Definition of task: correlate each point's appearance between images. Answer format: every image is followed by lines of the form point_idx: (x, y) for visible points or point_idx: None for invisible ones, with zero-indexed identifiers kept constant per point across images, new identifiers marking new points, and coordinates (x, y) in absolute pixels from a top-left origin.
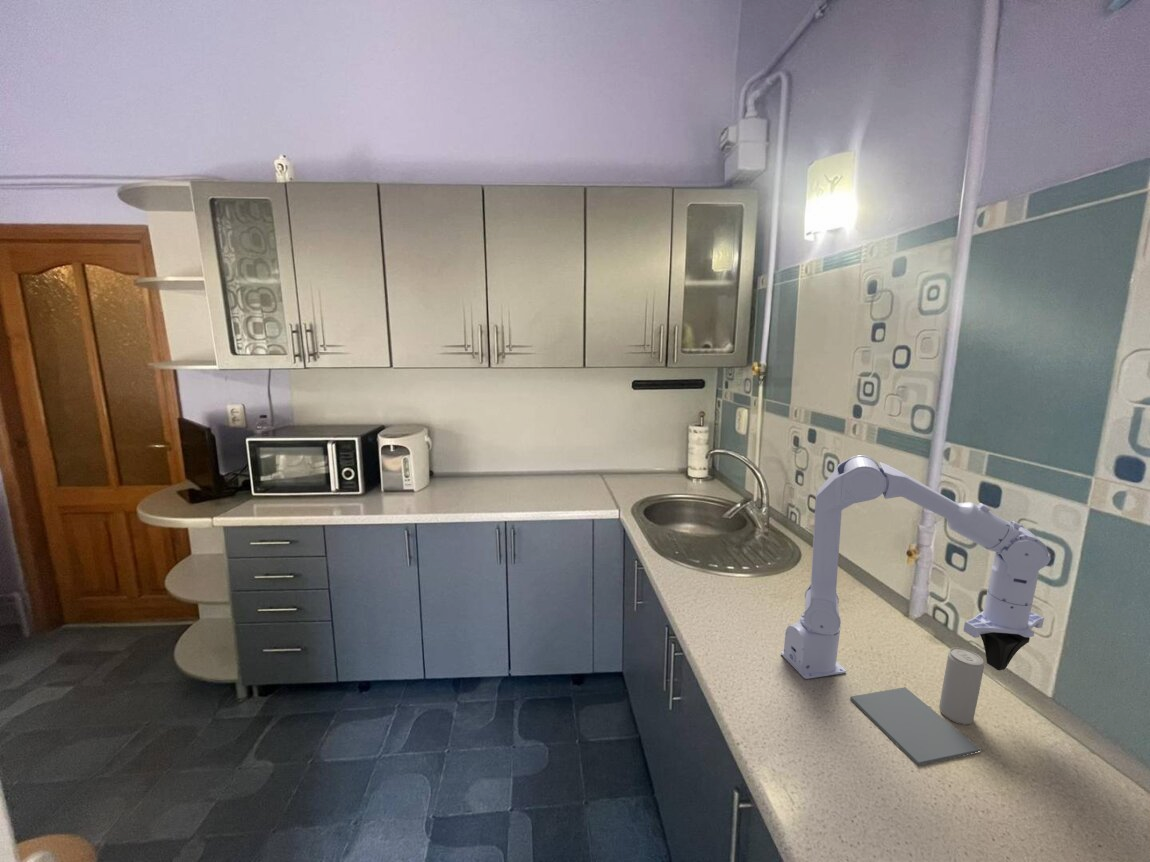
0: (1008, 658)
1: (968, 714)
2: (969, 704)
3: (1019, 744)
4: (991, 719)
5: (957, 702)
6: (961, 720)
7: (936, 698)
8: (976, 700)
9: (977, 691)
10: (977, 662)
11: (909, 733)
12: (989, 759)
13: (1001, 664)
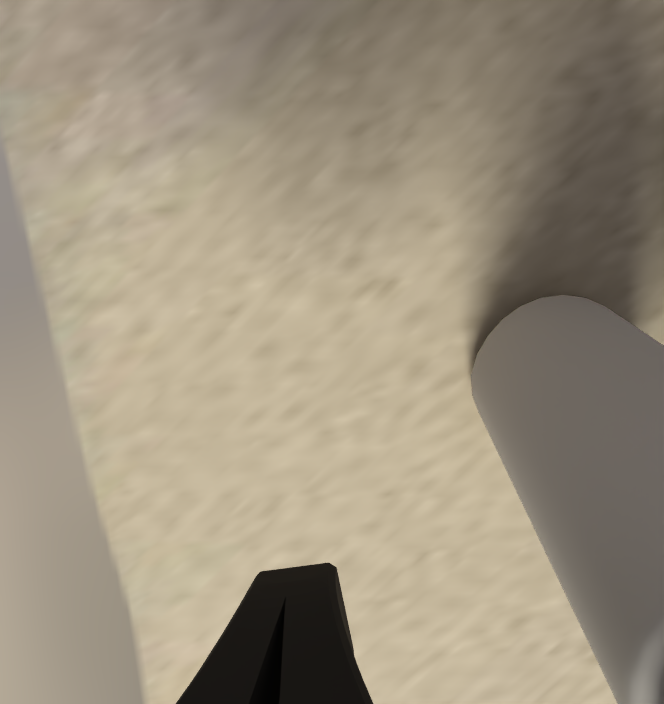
0: (258, 676)
1: (594, 313)
2: (636, 338)
3: (363, 153)
4: (360, 335)
5: None
6: (602, 307)
7: None
8: (580, 357)
9: (632, 386)
10: None
11: None
12: (659, 45)
13: (335, 610)
